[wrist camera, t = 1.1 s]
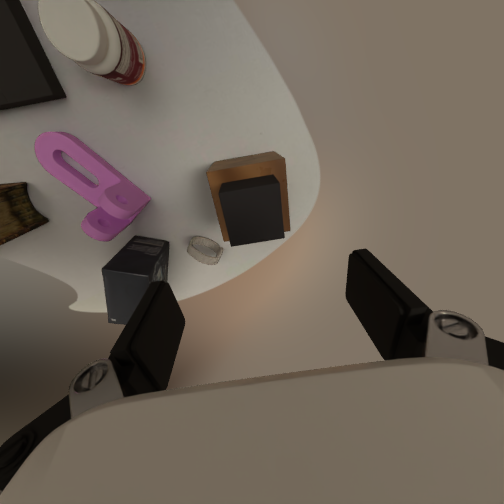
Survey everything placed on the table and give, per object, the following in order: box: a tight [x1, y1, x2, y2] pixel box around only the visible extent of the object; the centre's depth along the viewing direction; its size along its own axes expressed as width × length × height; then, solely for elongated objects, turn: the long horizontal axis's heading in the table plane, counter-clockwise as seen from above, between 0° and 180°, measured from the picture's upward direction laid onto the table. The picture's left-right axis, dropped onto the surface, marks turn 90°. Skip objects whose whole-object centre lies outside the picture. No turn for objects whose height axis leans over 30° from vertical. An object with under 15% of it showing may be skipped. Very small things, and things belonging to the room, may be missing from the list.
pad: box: [218, 174, 285, 247], centre depth 21 cm, size 5×5×4 cm
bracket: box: [35, 132, 151, 241], centre depth 25 cm, size 13×6×7 cm, turn 43°
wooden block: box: [206, 151, 290, 242], centre depth 26 cm, size 8×8×8 cm
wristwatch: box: [187, 237, 223, 265], centre depth 32 cm, size 3×5×5 cm, turn 63°
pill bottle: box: [38, 0, 146, 85], centre depth 19 cm, size 5×5×8 cm
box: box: [102, 236, 169, 325], centre depth 31 cm, size 9×6×10 cm, turn 167°
